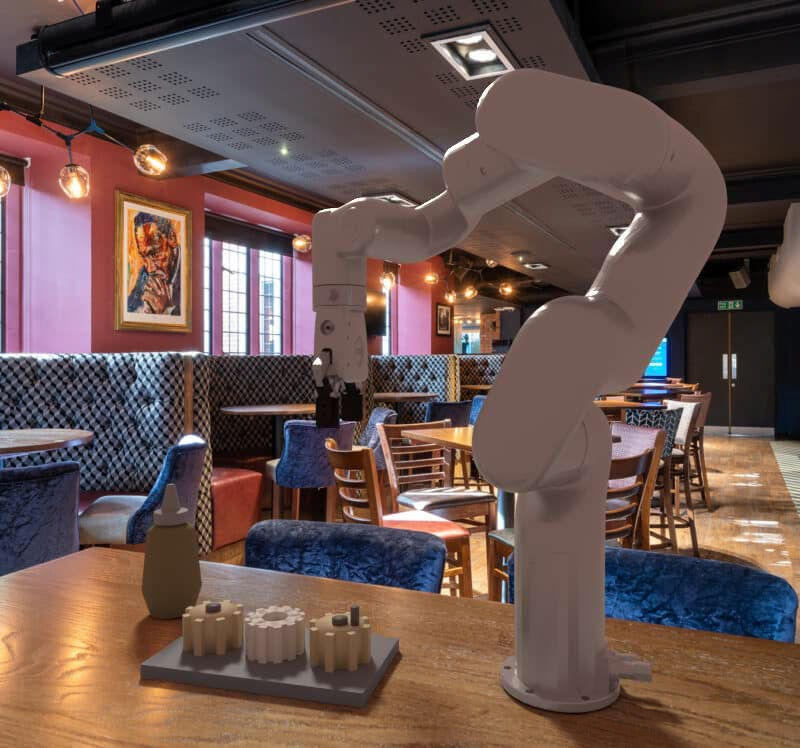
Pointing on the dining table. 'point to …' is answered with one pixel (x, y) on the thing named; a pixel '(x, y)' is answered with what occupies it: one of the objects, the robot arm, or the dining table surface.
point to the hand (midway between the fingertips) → (340, 424)
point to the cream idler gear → (274, 634)
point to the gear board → (299, 678)
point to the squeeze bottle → (171, 560)
